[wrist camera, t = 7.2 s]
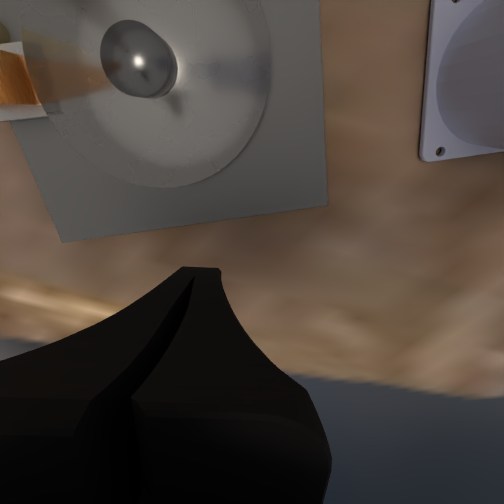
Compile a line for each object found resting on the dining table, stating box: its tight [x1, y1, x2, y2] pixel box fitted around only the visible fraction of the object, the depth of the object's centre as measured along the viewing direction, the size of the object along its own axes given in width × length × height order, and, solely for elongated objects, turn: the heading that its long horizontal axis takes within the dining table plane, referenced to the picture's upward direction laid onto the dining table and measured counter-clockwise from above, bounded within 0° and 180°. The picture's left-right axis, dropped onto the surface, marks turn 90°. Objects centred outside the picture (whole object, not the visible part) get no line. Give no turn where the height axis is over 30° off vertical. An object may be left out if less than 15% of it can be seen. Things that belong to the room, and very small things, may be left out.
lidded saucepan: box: [0, 0, 270, 188], centre depth 12 cm, size 14×11×5 cm
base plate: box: [0, 0, 328, 243], centre depth 15 cm, size 16×16×3 cm
